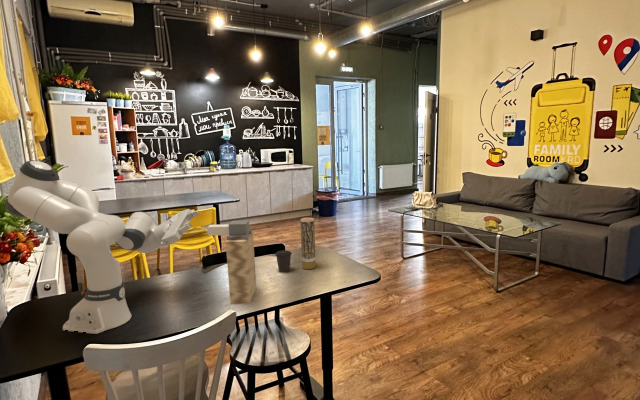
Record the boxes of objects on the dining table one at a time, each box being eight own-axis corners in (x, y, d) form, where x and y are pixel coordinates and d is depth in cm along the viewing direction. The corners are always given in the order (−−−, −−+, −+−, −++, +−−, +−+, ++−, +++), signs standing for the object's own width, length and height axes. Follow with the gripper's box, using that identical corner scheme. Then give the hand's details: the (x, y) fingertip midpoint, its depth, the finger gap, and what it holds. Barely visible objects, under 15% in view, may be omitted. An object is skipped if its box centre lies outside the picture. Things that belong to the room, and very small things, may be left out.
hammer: (207, 239, 155) (206, 224, 154) (211, 235, 161) (210, 221, 159) (246, 238, 154) (245, 224, 153) (249, 234, 160) (248, 220, 159)
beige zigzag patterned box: (230, 303, 156) (225, 238, 150) (238, 289, 169) (234, 228, 164) (250, 303, 155) (245, 237, 150) (256, 288, 169) (252, 228, 164)
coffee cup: (272, 271, 189) (271, 251, 187) (284, 266, 195) (284, 247, 193) (283, 275, 184) (282, 255, 182) (295, 270, 190) (295, 250, 188)
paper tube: (314, 270, 189) (312, 220, 184) (300, 269, 190) (298, 220, 186) (316, 265, 196) (315, 217, 191) (304, 264, 197) (302, 217, 192)
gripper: (153, 241, 152) (180, 227, 148) (171, 213, 170) (196, 200, 166) (163, 252, 155) (190, 239, 151) (181, 224, 173) (205, 211, 169)
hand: (193, 219), depth 159 cm, fingers open, 8 cm apart
